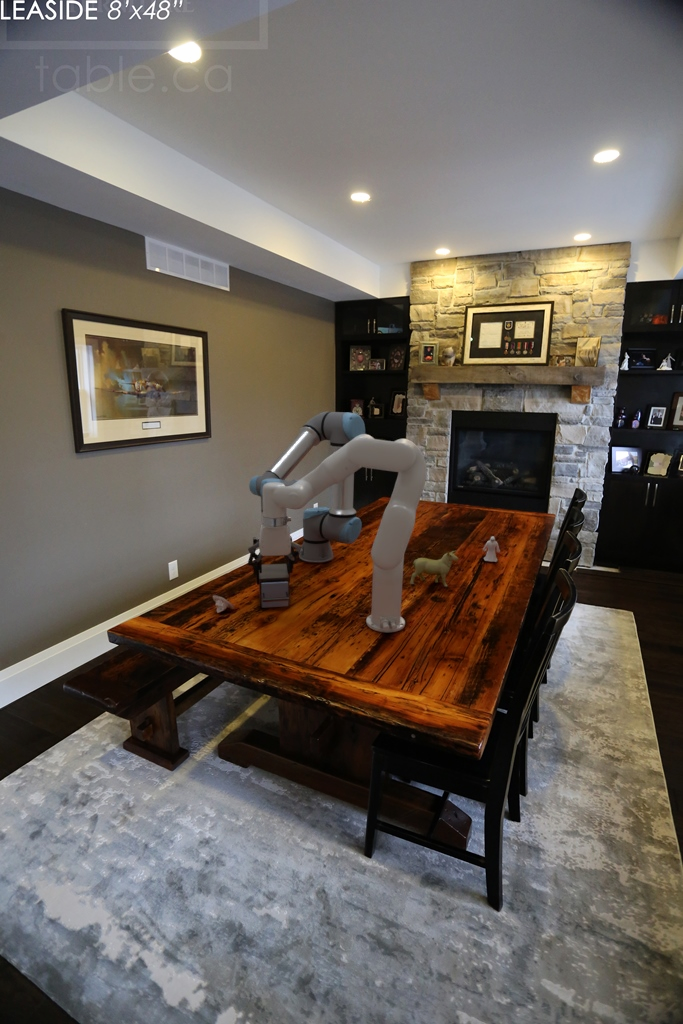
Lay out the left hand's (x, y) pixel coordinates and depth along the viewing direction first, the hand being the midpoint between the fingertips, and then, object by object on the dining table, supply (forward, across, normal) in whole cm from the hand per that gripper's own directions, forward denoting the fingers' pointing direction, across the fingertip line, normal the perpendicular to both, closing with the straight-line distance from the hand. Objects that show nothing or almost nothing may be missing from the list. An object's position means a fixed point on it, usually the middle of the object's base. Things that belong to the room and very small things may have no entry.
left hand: (273, 582), depth 181 cm
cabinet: (+6, 0, +2) cm, 6 cm away
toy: (+6, -62, -2) cm, 62 cm away
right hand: (-10, 0, +14) cm, 17 cm away
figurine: (+6, -98, -26) cm, 102 cm away
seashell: (+6, +18, +9) cm, 21 cm away
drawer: (+5, 0, +8) cm, 9 cm away
